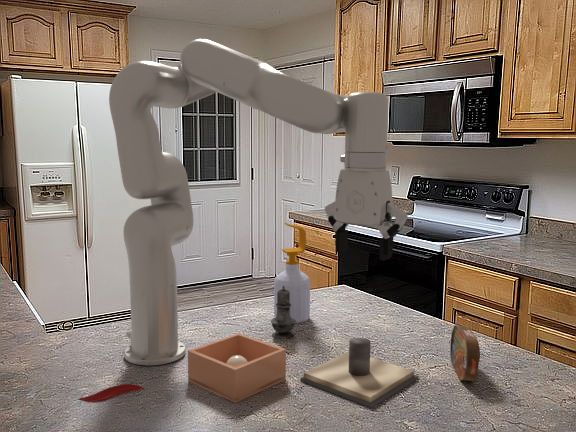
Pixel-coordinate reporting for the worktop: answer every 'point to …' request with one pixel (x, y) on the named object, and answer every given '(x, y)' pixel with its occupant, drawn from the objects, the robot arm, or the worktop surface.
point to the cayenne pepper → (111, 392)
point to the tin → (464, 353)
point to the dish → (236, 366)
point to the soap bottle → (295, 282)
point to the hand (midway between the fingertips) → (362, 255)
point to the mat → (361, 399)
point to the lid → (359, 373)
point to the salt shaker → (283, 317)
